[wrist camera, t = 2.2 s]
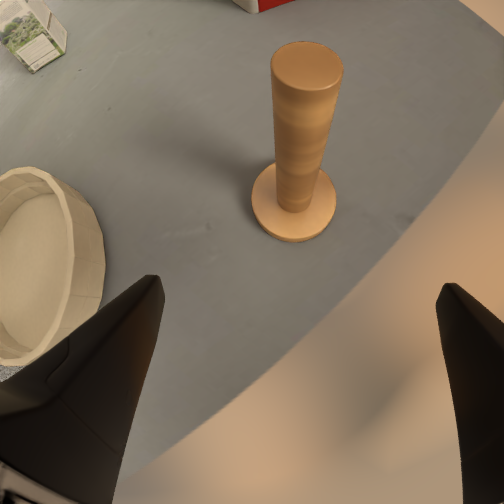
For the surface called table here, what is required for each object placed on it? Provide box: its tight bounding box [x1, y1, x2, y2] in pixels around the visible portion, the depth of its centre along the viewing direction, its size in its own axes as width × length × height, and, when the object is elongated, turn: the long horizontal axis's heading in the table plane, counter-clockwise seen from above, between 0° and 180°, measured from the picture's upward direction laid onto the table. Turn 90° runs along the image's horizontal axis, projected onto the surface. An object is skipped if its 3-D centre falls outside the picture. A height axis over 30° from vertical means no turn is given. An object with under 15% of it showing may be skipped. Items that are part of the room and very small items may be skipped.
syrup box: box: [0, 0, 67, 74], centre depth 23 cm, size 6×6×14 cm
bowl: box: [0, 166, 106, 367], centre depth 22 cm, size 16×16×5 cm
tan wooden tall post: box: [251, 41, 344, 242], centre depth 16 cm, size 6×6×15 cm
